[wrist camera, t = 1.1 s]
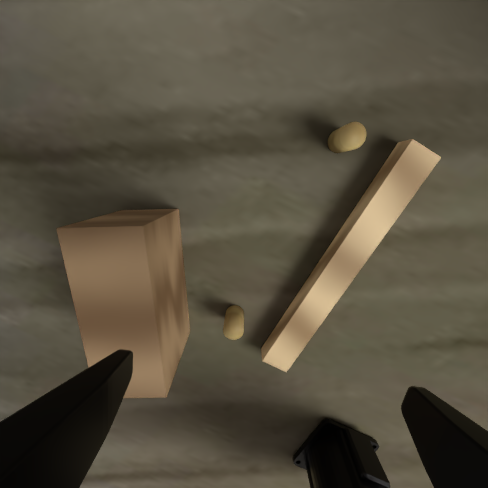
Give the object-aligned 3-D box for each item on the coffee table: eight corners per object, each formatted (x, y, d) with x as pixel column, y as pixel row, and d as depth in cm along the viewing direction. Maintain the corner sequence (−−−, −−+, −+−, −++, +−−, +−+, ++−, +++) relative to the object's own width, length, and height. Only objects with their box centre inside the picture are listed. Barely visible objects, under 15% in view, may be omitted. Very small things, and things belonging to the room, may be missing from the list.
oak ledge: (283, 359, 23) (288, 380, 20) (216, 327, 22) (212, 345, 20) (424, 158, 18) (451, 156, 16) (345, 108, 17) (361, 97, 15)
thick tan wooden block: (190, 330, 22) (166, 397, 16) (139, 331, 22) (93, 398, 16) (178, 208, 19) (143, 226, 13) (120, 210, 19) (53, 228, 13)
